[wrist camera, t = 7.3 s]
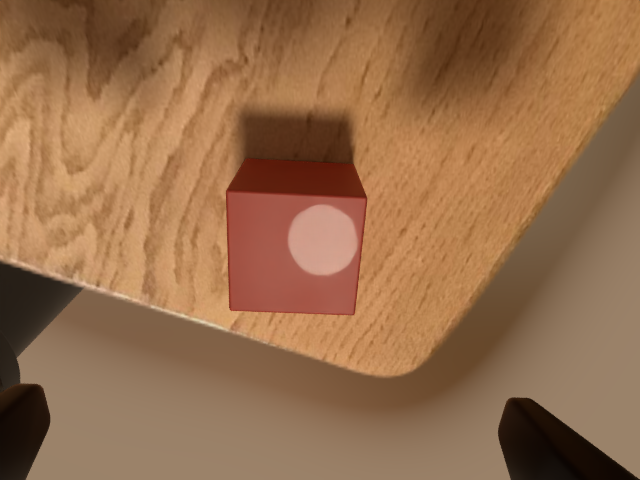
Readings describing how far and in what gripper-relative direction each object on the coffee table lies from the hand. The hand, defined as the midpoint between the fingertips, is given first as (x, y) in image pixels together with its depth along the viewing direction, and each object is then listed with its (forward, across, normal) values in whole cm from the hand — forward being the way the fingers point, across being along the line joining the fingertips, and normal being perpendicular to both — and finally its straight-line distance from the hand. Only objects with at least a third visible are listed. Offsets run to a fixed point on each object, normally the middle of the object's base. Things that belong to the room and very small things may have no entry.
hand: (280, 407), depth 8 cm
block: (+11, 0, 0) cm, 11 cm away
